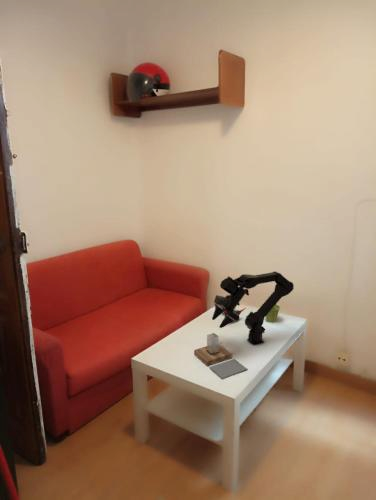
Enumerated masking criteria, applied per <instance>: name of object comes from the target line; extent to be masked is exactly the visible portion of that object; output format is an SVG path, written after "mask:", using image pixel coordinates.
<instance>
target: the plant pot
mask: <svg viewBox="0 0 376 500" xmlns="http://www.w3.org/2000/svg"><path fill="white" fill-rule="evenodd" d="M280 309H281V305H279V304H277V303H276V305H275V306H274V307H273V308H272V309H271V310H270V312H269V313H268V314H267V315H266V316H265V321H267V322H268V323H275V322H277V320H278V315H279V311H280Z"/></svg>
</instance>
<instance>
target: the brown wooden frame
mask: <svg viewBox="0 0 376 500" xmlns="http://www.w3.org/2000/svg"><path fill="white" fill-rule="evenodd" d="M193 353H194V356H195V357H197V359H199V361H200V362H201V363H203V364H204V365H205V366H206V367H210V366H213V365H214V364H215V365H216V364H217V363H218V364H219V363H222V362H223V361H224V362H225V361H228V360H231V359H232V358H233V353H232V352H231V351H230V350H228V349H227V348H226V347H224V346H223V345H222V344H220V343H219V353H218V354H214V355H210V354H209V353H208V352H207V345H206V346H202V347H200V348H196V349H194V350H193Z"/></svg>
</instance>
